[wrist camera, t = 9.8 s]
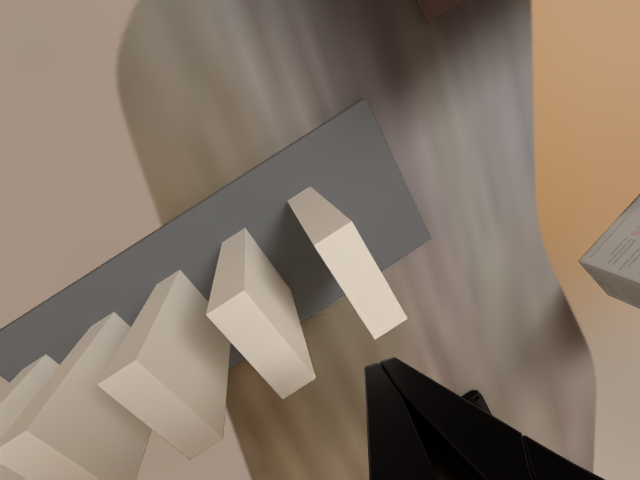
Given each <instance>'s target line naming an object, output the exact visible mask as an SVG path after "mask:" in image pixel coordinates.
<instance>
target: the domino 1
mask: <svg viewBox="0 0 640 480" xmlns="http://www.w3.org/2000/svg"><path fill="white" fill-rule="evenodd" d="M58 367H59V364H58V363H57V362H55V361H54V360H53V359H52V358H50V357H49V356H48V355H46V354H45V355H44V356H42V357H41V358H39V359H38V360H36V361H35V362H33V363H31V364H30V365H28V366H27V367H25V368H24V369H22V370H21V371H20V372H19V373H18V375H17V376H16V377H15V378H14V379H13V380H12V381H11V382H10V383H9V384H8V385H7V386H6V387H5V388H4V389H3V390H2V392H0V439H1V437H2V436H3V435H4V434H5V432H6V431H7V430H8V429H9V427H10V426H11V425H12V424H13V422H14V421H15V420H16V419H17V417H18V416H19V415H20V414H21V413H22V411H23V410H24V409H25V408H26V406H27V405H28V404H29V403H30V401H31V400H32V399H33V398H34V396H35V395H36V394H37V393H38V391H39V390H40V389H41V388H42V386H43V385H44V384H45V383H46V381H47V380H48V379H49V378H50V376H51V375H52V374H53V373H54V372H55V370H56V369H57V368H58ZM0 480H27V479H25V478H24V477H22V476H20V475H19V474H17V473H15V472H14V471H12V470H10V469H9V468H7V467H5V466H4V465H2V464H0Z"/></svg>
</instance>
